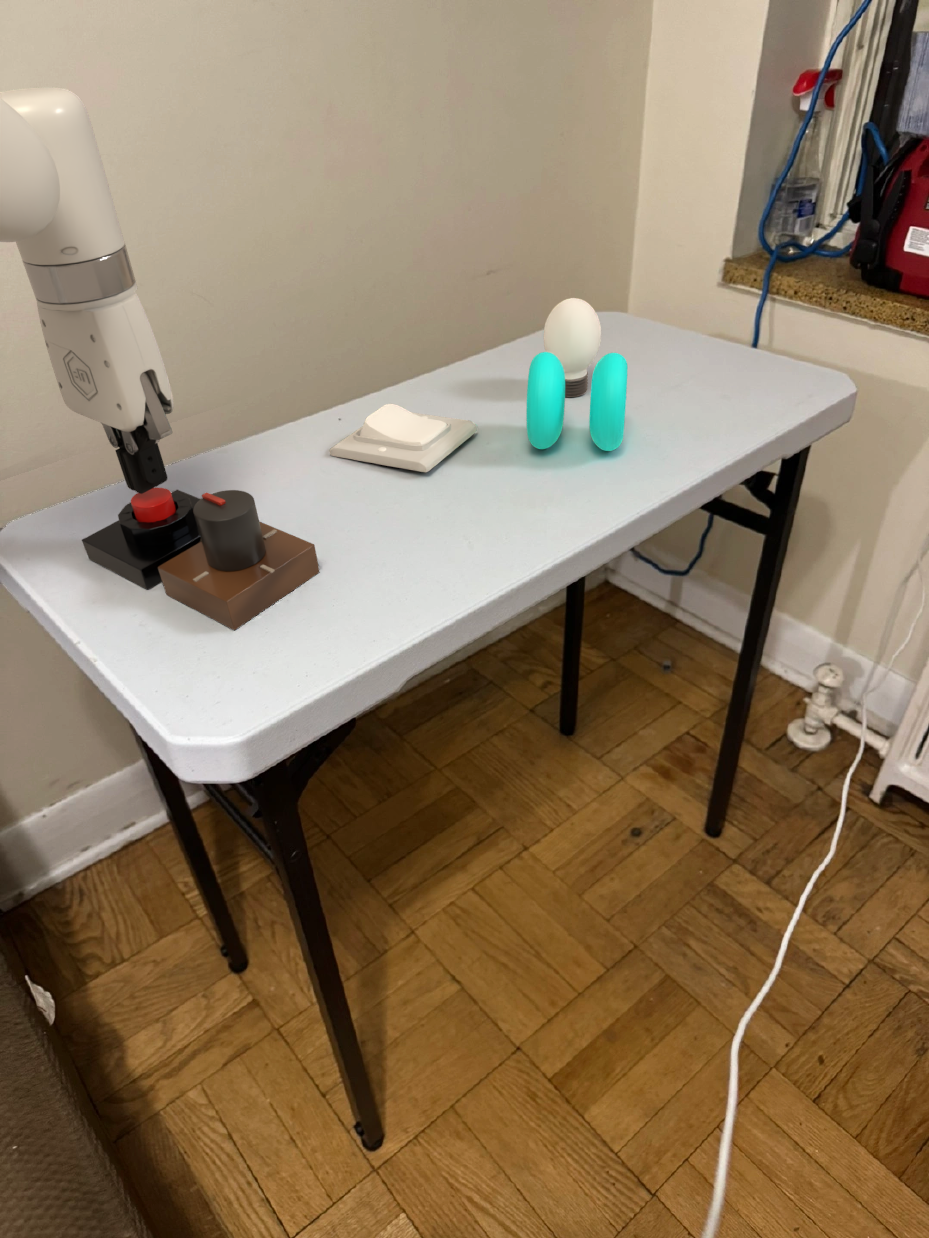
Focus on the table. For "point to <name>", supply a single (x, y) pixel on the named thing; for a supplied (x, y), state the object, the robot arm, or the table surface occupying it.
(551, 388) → the donuts
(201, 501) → the dimmer knob
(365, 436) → the light switch
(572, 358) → the light bulb
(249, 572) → the dimmer panel
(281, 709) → the table surface
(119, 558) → the switch block
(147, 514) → the power button
